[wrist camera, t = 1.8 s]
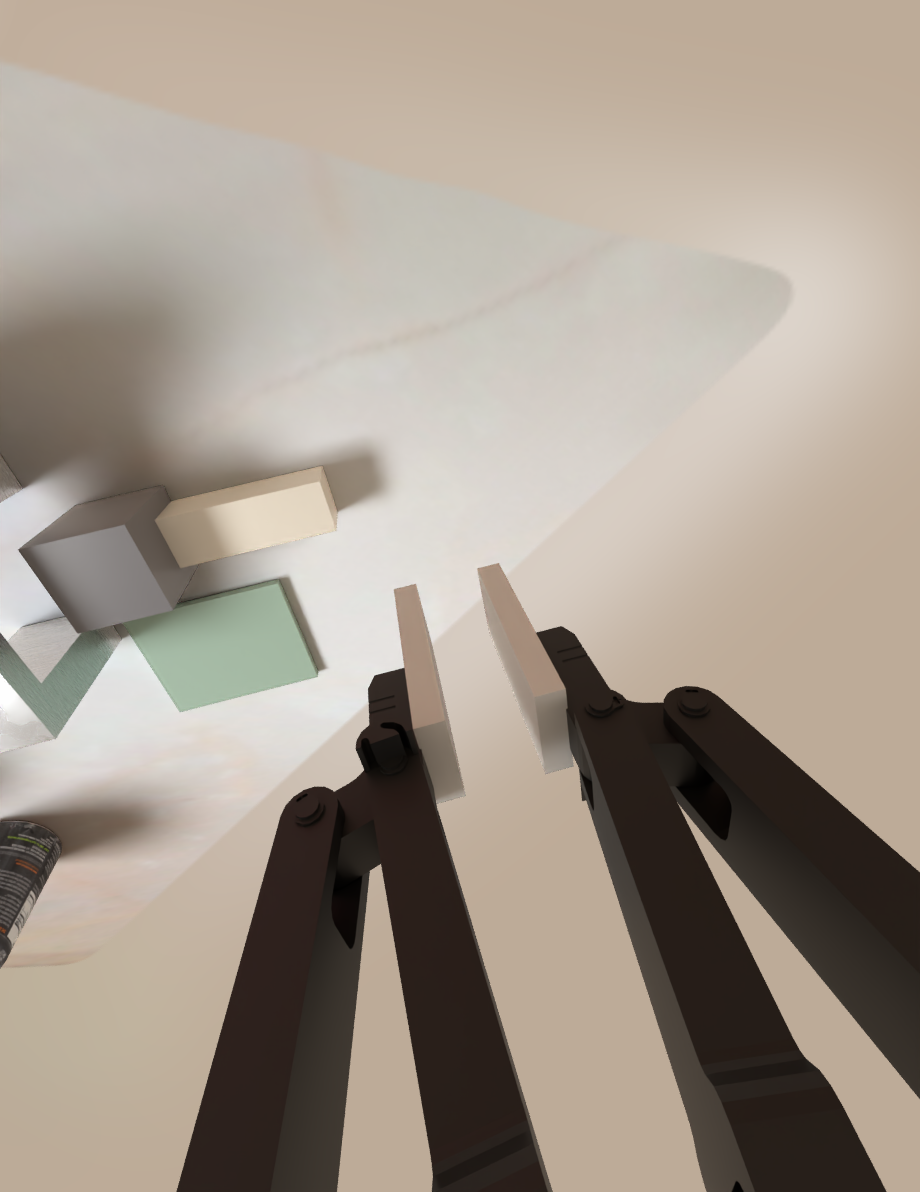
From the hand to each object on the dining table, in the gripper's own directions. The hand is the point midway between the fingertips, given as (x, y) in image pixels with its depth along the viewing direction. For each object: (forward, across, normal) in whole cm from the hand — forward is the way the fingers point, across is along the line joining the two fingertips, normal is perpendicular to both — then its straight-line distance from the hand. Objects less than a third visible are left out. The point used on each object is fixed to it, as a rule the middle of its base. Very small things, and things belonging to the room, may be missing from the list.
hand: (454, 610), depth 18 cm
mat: (+16, -15, -9) cm, 24 cm away
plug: (+16, -13, 0) cm, 21 cm away
